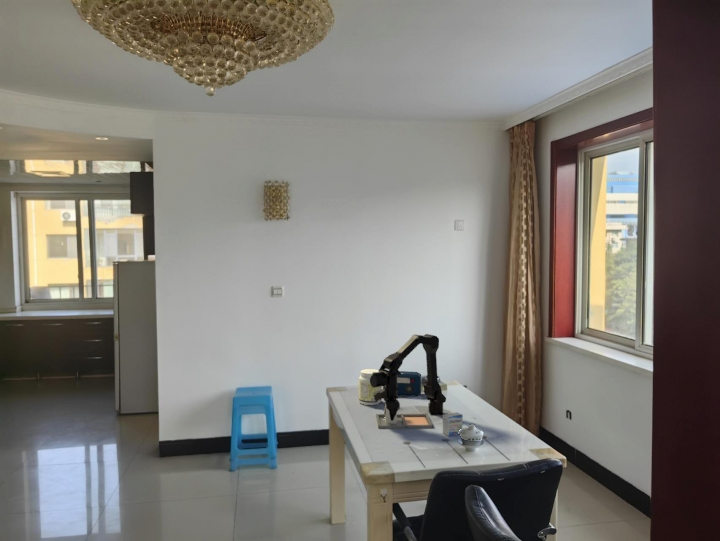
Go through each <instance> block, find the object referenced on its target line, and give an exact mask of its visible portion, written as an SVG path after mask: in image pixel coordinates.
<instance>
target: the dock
mask: <svg viewBox="0 0 720 541" xmlns="http://www.w3.org/2000/svg"><path fill="white" fill-rule="evenodd" d="M384 417H385V414H384V413H376V414H375V418H376V423H377V428H378V429H380V430H381V429H383V428H384V429H386V428H388V429H433V428H434V424H433V423H432V420H431V419H430V416H429V415H428V413H397V424H386V422H385V420H383V419H385V418H384Z"/></svg>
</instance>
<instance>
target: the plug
mask: <svg viewBox="0 0 720 541" xmlns="http://www.w3.org/2000/svg"><path fill="white" fill-rule="evenodd" d="M383 408H384V410H383V414H385V422H386V424H397V414H398V412H397V413H396V415H395V417H394V420H393V421H391V419H390V413H389V410H388V409H387V408H386V403H385V406H383Z"/></svg>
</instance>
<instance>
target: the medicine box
mask: <svg viewBox="0 0 720 541" xmlns="http://www.w3.org/2000/svg"><path fill="white" fill-rule="evenodd" d="M463 416H464V415H463V414H462V413H460V412H452V413H445V414H444V415H442V434H443V435H445V436H447V437H452V435H453V436H457V435H456V434H458V432H459V430H460V429H462V430H463ZM458 435H459V434H458Z"/></svg>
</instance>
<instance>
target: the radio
mask: <svg viewBox="0 0 720 541" xmlns="http://www.w3.org/2000/svg"><path fill="white" fill-rule="evenodd" d="M399 372H401V374H400V375H397V387H398V390H397V396H400V395H407V396H406V397H418V396H420V395H421V393H422V374H421V373H420V372H418V371H407V370H406V371H405V370H404V371H403V370H401V371H400V370H399ZM382 389H384V386H382Z"/></svg>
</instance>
